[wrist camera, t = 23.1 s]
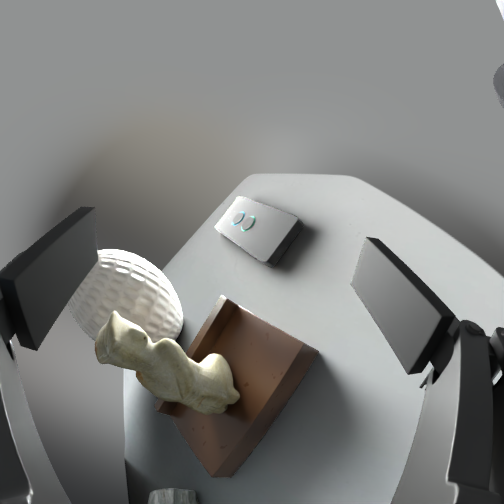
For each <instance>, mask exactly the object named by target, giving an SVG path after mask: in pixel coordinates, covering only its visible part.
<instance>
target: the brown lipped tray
mask: <svg viewBox="0 0 504 504" xmlns="http://www.w3.org/2000/svg"><path fill="white" fill-rule="evenodd" d="M318 352H319V351H318V350H316V349H314V348H312V347H310V346H309V345H307V344H305V343H303V342H301V341H300V340H298V339H296V338H294V337H292V336H291V335H289V334H287V333H285V332H284V331H282V330H280V329H278V328H277V327H275V326H273V325H271V324H270V323H268V322H266V321H264V320H263V319H261V318H259V317H257V316H256V315H254V314H252V313H251V312H249V311H247V310H246V309H244V308H242V307H241V306H239V305H237V304H236V303H234V302H232V301H231V300H229V299H227V298H226V297H224V296H222V295H221V297H220V298H219V300H218V301H217V303H216V305H215V306H214V308H213V310H212V311H211V313H210V314H209V316H208V318H207V319H206V321H205V323H204V324H203V326H202V328H201V329H200V331H199V332H198V334H197V336H196V337H195V339H194V341H193V342H192V344H191V346H190V347H189V349H188V350H187V352H186V355H187V357H188V358H190V359H191V360H193V361H194V362H196V363H198V364H199V363H201V362H202V361H203V360H204V359H205V358H206V357H207V356H208V355H210V354H219V355H221V356H222V357H223V358H224V359H225V360H226V361H227V363H228V364H229V366H230V369H231V372H232V377H233V387H234V389H235V390H237V391H238V392H239V394H240V398H239V399H238V400H237V402H235V403H234V404H227V405H228V407H227V410H226V411H224V412H223V413H221V414H218V413H211V414H209V415H205V414H202V413H199V412H196V411H194V410H192V409H191V408H189V407H188V406H187V405H184V404H182V403H180V402H170V401H164V400H161V399H159V398H158V400H157V401H156V403H155V405H154V407H155V409H156V411H157V412H159V413H162V414H166V415H170V417H171V418H172V420H173V422H174V423H175V425H176V427H177V428H178V430H179V431H180V433H181V434H182V436H183V437H184V439H185V440H186V442H187V443H188V445H189V446H190V448H191V449H192V451H193V452H194V454H195V455H196V457H197V458H198V459H199V461H200V462H201V464H202V465H203V466H204V468H205V469H206V470H207V472H208V473H209V474H210V476H211V477H216V478H231V477H232V476H233V475H234V474H235V473H236V471H237V470H238V469H239V468H240V466H241V465H242V464H243V463H244V461H245V460H246V459H247V457H248V456H249V455H250V454H251V452H252V451H253V450H254V448H255V447H256V446H257V444H258V443H259V442H260V440H261V439H262V437H263V436H264V435H265V433H266V432H267V431H268V429H269V428H270V426H271V425H272V424H273V422H274V421H275V419H276V418H277V416H278V415H279V413H280V412H281V411H282V409H283V408H284V406H285V405H286V403H287V402H288V400H289V399H290V397H291V396H292V394H293V393H294V391H295V389H296V388H297V386H298V385H299V383H300V382H301V380H302V378H303V377H304V375H305V374H306V372H307V370H308V369H309V367H310V366H311V364H312V362H313V361H314V359H315V357H316V356H317V354H318Z"/></svg>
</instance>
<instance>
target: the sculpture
mask: <svg viewBox="0 0 504 504" xmlns="http://www.w3.org/2000/svg"><path fill="white" fill-rule="evenodd" d="M95 352H96V356H97V359H98V361H99V363H101V364H112V365H114V366H117V367H121V368H125V369H130V370H135V371H136V377H137V379H138V381H139V382H140V383H141V384H142V385H143V386H144V387H145V388H146V389H147V390H149V391H150V392H151V393H152V394H153V395H154V396H156V397H157V398H159V399H161V400H164V401H170V402H180V403H182V404H184V405H187V406H188V407H189V408H191V409H192V410H194V411H196V412H199V413H202V414H205V415H209V414H211V413H218V414H221V413H223V412H224V411H226V410H227V407H228V405H227V404H234V403H235V402H237V400H238V399H239V398H240V394H239V392H238V391H237V390H235V389H234V387H233V377H232V372H231V369H230V366H229V364H228V363H227V361H226V360H225V359H224V358H223V357H222V356H221V355H219V354H210V355H208V356H207V357H206V358H205V359H204V360H203V361H202V362H201V363H199V364H198V363H196V362H194V361H193V360H191V359H190V358H188V357H187V355H186V354H185V352H184V351H183V349H182V348H181V347H180V346H179V345H178V344H177V343H176V342H175V341H173V340H172V339H168V338H164V339H162V340H160V341H159V342H157V343H152V342H151V339H150V338H149V337H148V336H147V334H146V333H145V332H144V331H143V330H142V329H141V328H140V327H139V326H138V325H136V324H133V323H131V322H129V321H127V320H126V319H123V318H121V317H120V316H119V314H118V313H117V312H116V311H113V312H112V313H111V315H110V318H109V321H108V323H107V324H105V325H104V326H103V327H102V328H101V329H100V331H99V332H98V334H97V337H96V341H95Z"/></svg>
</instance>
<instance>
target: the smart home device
mask: <svg viewBox="0 0 504 504" xmlns="http://www.w3.org/2000/svg"><path fill="white" fill-rule="evenodd" d="M303 226H304V224H303V223H302V222H301V221H300V220H299V219H298V218H297V216H295V215H292V214H290V213H287V212H284V211H282V210H279V209H276V208H273V207H271V206H268V205H265V204H262V203H259V202H257V201H254V200H251V199H248V198H245V197H242V196H238V197H237V198H236V199H235V201H234V202H233V203H232V205H231V206H230V207H229V208H228V210H227V211H226V212H225V213H224V215H223V216H222V217H221V219H220V220H219V221H218V223H217V224H216V225H215V229H216V230H217V231H219V232H220V233H221V234H223V235H224V236H225V237H227V238H228V239H230V240H231V241H232V242H234V243H235V244H237V245H238V246H240V247H241V248H242V249H244V250H245V251H247V253H248V254H250V255H251V256H252V257H254V258H255V259H258V260H259V261H261V262H262V263H264V264H265V265H267V266H268V267H274V265H275V264H276V263H277V261H278V260H279V259H280V257H281V256H282V255H283V253H284V252H285V251H286V249H287V248H288V247H289V245H290V244H291V243H292V241H293V240H294V239H295V237H296V236H297V235H298V233H299V232H300V230H301V229H302V228H303Z"/></svg>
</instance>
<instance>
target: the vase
mask: <svg viewBox="0 0 504 504" xmlns="http://www.w3.org/2000/svg"><path fill="white" fill-rule="evenodd" d="M68 306H69V308H70V311H71V313H72V315H73V317H74V319H75V320H76V322H77V323H78V324H79V326H80V327H81V328H82V330H83V331H84V332H85V333H86V334H87V335H88V336H89V337H91V338H92V339H93V340H94V341H96V337H97V334H98V332H99V331H100V329H101V328H102V327H103V326H104V325H105V324H107V323H108V321H109V318H110V315H111V313H112V312H113V311H116V312H117V313H118V314H119V316H120V317H121V318H123V319H126V320H127V321H129V322H131V323H133V324H136V325H138V326H139V327H140V328H141V329H142V330H143V331H144V332H145V333H146V334H147V336H148V337H149V338H150V339H151V342H152V343H157V342H159V341H160V340H162V339H164V338H168V339H172V340H173V341H175V340H176V339H177V337H178V336H179V334H180V332H181V329H182V326H183V313H182V309H181V305H180V302H179V299H178V297H177V294H176V292H175V290H174V289H173V287H172V285H171V283H170V282H169V281H168V279H167V278H166V277H165V276H164V274H163V273H162V272H161V271H159V270H158V269H157V268H156V267H155V266H154V265H152V264H151V263H149V262H148V261H146V260H145V259H143V258H141V257H139V256H137V255H134V254H131V253H128V252H125V251H120V250H100V251H98V261H97V263H96V264H95V265H94V267H93V268H92V269H91V271H90V272H89V273H88V275H87V276H86V277H85V279H84V280H83V282H82V283H81V284H80V286H79V287H78V289H77V290H76V291H75V293H74V294H73V296H72V297H71V299H70V300H69V301H68Z"/></svg>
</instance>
